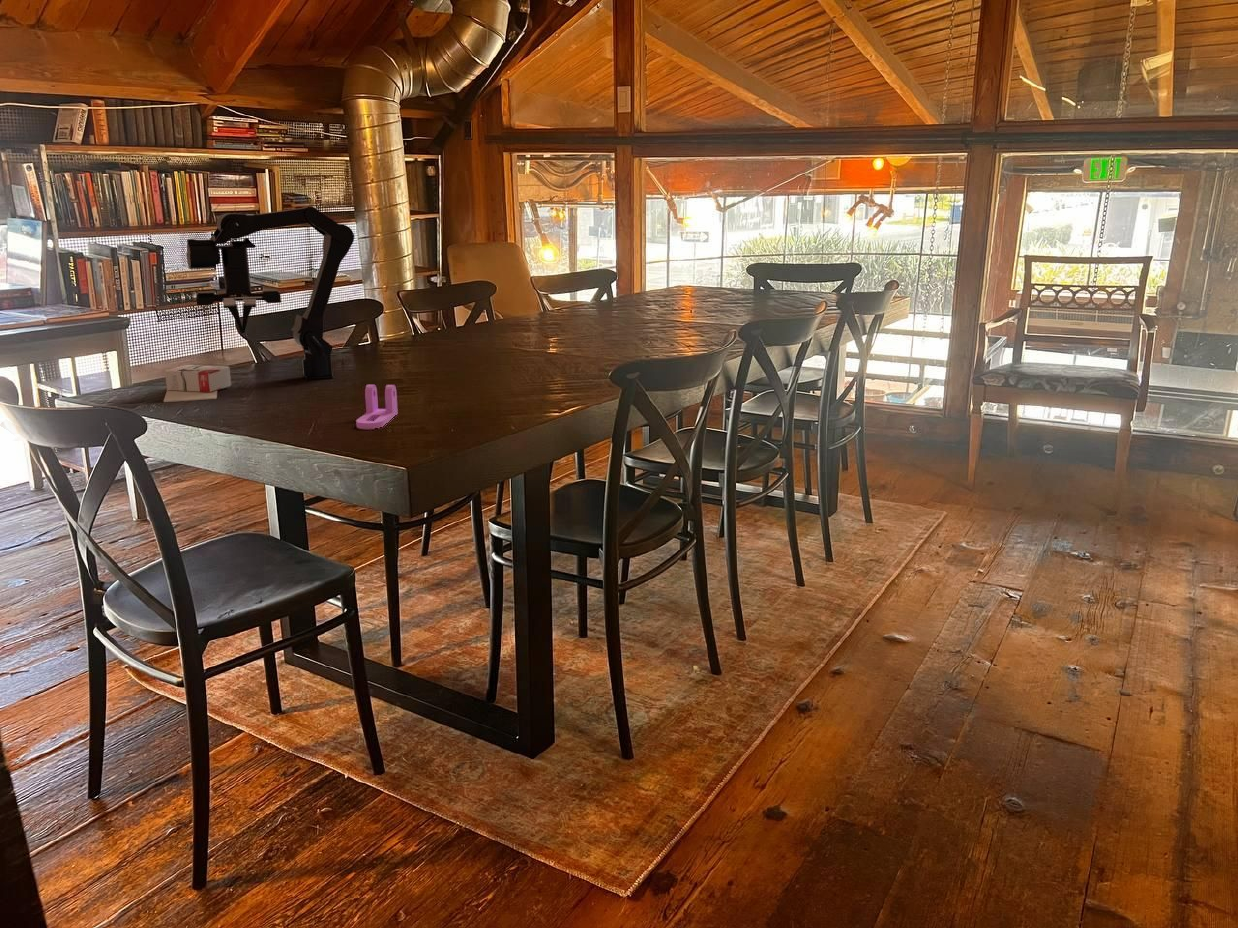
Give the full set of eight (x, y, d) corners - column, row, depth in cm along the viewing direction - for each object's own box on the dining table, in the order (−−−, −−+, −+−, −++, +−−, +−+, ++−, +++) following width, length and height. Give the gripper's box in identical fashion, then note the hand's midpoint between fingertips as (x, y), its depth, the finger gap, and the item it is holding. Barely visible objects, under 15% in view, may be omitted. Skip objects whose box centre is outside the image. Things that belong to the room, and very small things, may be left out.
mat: (217, 385, 227) (217, 384, 227) (216, 398, 213) (216, 397, 212) (168, 388, 223) (168, 387, 223) (163, 402, 209) (163, 401, 209)
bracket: (372, 415, 199) (369, 383, 197) (397, 415, 199) (395, 383, 197) (353, 429, 187) (350, 395, 185) (380, 430, 186) (378, 396, 184)
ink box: (208, 372, 216) (163, 370, 218) (210, 393, 217) (165, 390, 219) (230, 366, 224) (186, 364, 226) (232, 385, 225) (188, 383, 227)
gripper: (276, 264, 232) (282, 327, 236) (194, 266, 225) (202, 330, 230) (277, 268, 222) (284, 333, 226) (192, 269, 215) (200, 336, 220)
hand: (242, 333), depth 226 cm, fingers closed
